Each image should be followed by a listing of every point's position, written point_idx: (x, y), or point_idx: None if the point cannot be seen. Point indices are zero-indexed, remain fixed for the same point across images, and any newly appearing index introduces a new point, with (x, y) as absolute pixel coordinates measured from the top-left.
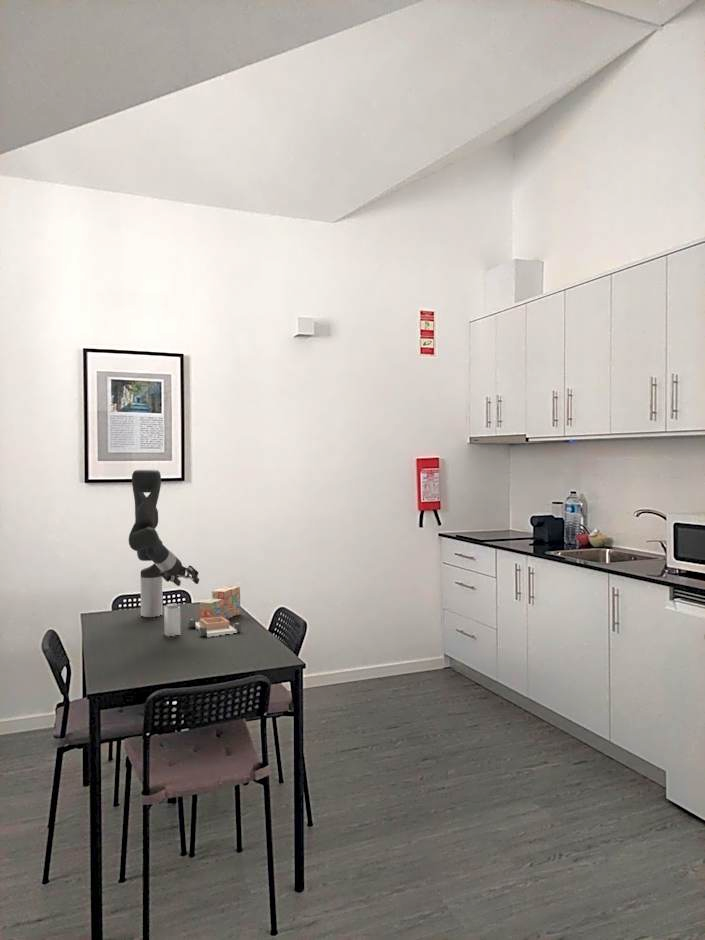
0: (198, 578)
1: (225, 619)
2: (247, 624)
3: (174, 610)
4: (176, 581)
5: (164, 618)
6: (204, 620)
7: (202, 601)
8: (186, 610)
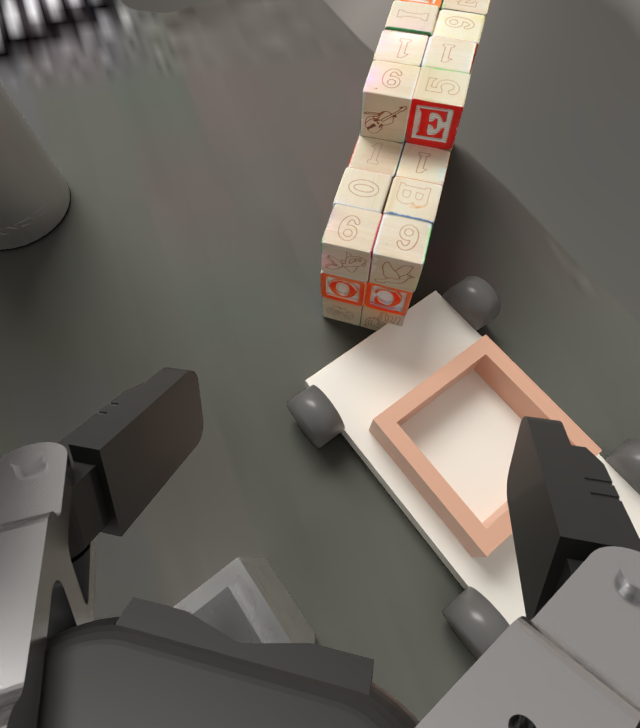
0: (609, 483)
1: (550, 406)
2: (583, 305)
3: None
4: (142, 484)
5: None
6: (405, 417)
7: (333, 223)
8: (169, 111)
